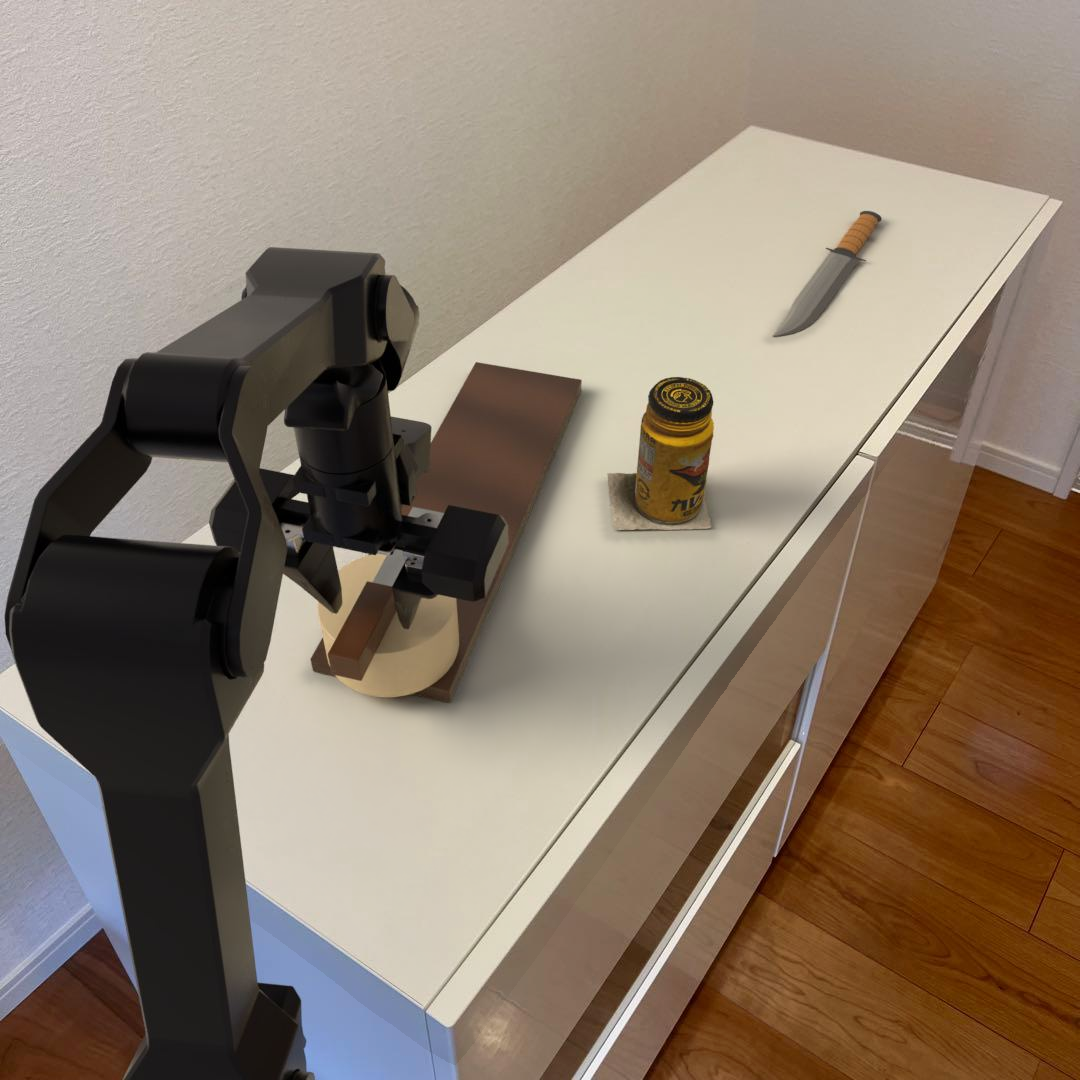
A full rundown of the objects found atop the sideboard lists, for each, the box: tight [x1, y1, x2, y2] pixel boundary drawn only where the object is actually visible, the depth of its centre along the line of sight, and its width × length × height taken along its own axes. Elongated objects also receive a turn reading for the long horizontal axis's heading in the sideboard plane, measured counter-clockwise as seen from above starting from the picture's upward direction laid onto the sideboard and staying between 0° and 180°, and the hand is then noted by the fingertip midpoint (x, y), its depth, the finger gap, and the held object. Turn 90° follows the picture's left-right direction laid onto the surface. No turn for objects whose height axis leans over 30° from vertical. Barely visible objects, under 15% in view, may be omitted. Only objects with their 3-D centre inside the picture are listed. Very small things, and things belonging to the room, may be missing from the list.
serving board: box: [310, 361, 583, 704], centre depth 94 cm, size 40×11×2 cm, turn 164°
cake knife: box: [328, 507, 444, 681], centre depth 78 cm, size 17×3×2 cm, turn 165°
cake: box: [317, 553, 459, 698], centre depth 80 cm, size 10×10×5 cm
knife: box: [772, 210, 882, 337], centre depth 123 cm, size 30×1×5 cm
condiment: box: [606, 376, 715, 531], centre depth 91 cm, size 7×8×12 cm
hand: (372, 616), depth 76 cm, fingers open, 5 cm apart
